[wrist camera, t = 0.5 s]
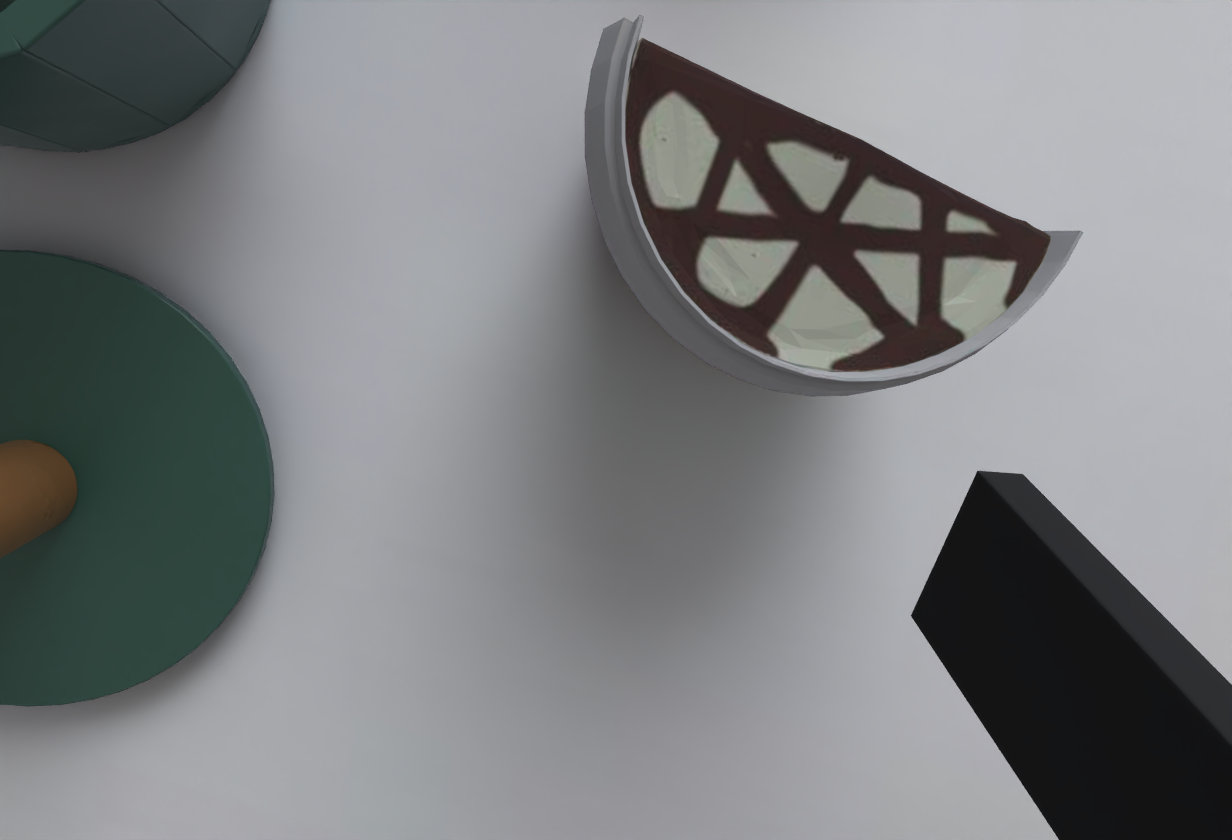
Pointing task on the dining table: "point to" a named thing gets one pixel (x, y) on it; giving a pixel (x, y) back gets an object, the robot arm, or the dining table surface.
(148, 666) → the canister lid
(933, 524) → the dining table surface
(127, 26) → the canister
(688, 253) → the food container
